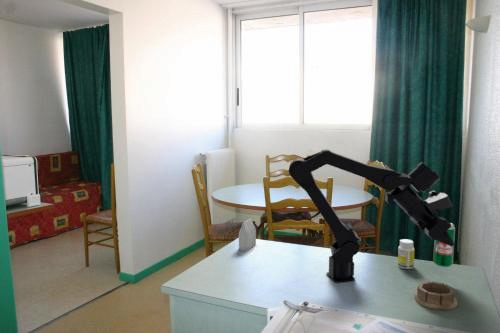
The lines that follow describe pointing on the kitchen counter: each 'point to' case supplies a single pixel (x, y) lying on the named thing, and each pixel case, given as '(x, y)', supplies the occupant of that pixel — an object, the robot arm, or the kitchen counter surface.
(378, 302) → the kitchen counter surface
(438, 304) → the holder
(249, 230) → the grey pointed block
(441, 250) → the soda can
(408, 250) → the supplement bottle
